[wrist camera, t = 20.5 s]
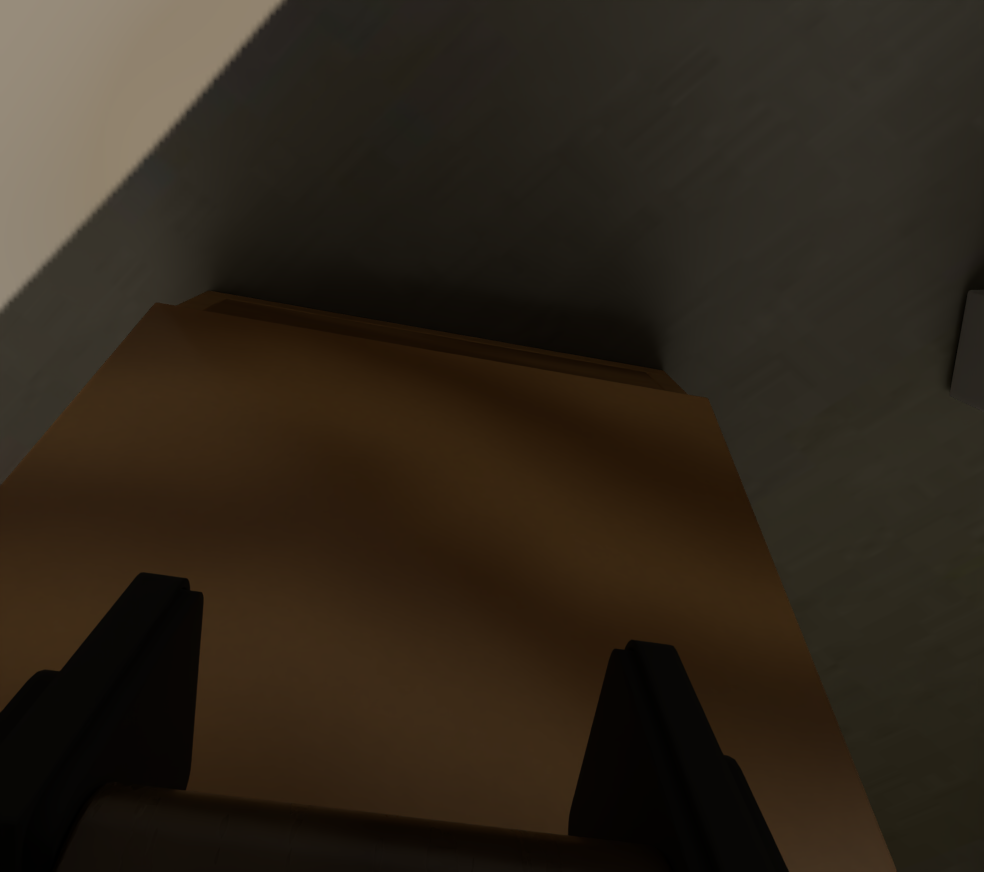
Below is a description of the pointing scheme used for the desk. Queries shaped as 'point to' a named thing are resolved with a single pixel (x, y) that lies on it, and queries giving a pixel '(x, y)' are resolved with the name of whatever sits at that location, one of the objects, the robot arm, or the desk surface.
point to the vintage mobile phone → (970, 354)
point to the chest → (431, 340)
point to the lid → (408, 601)
